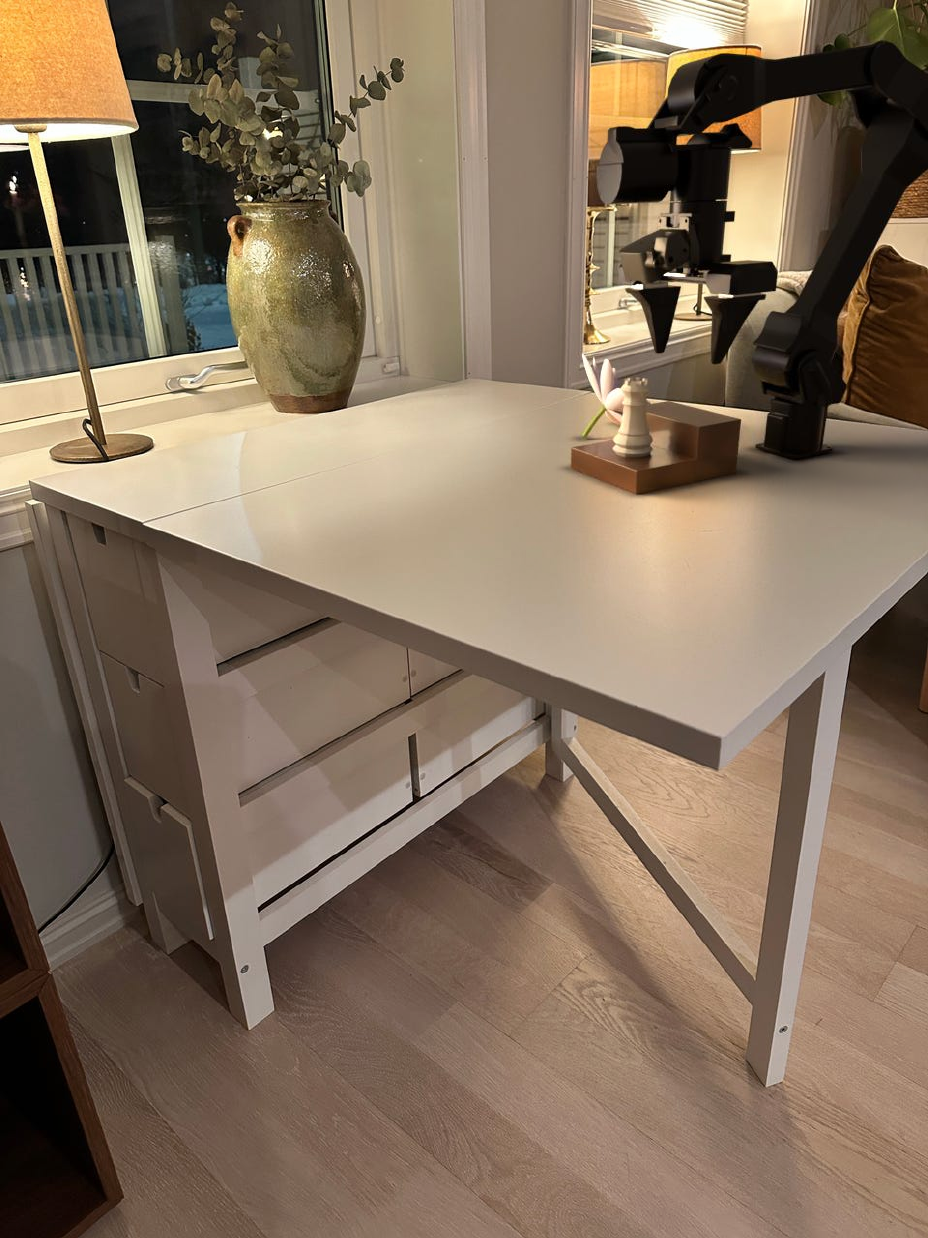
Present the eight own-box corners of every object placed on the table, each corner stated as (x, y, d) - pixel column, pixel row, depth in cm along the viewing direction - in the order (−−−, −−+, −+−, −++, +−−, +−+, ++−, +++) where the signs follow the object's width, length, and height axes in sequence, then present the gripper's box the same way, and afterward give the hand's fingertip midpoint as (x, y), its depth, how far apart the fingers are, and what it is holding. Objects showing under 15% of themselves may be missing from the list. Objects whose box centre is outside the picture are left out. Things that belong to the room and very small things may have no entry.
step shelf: (665, 450, 108) (668, 400, 106) (736, 472, 99) (741, 419, 96) (570, 468, 102) (571, 416, 100) (635, 494, 93) (638, 437, 90)
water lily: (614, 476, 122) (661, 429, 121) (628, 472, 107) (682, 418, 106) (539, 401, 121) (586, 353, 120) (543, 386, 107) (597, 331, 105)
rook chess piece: (643, 460, 95) (648, 384, 92) (605, 455, 98) (608, 381, 94) (659, 450, 99) (663, 377, 95) (621, 446, 101) (624, 374, 98)
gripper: (580, 205, 95) (577, 355, 101) (700, 202, 80) (687, 379, 86) (662, 201, 99) (654, 345, 106) (790, 198, 84) (771, 366, 91)
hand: (686, 358), depth 97 cm, fingers open, 9 cm apart
